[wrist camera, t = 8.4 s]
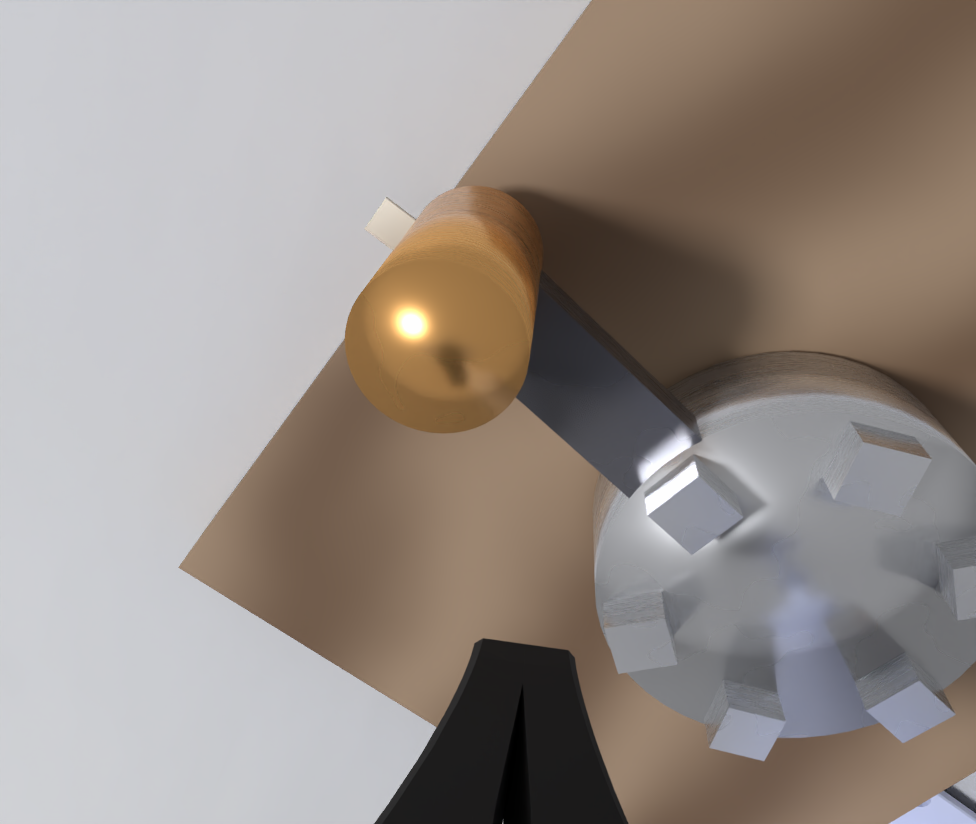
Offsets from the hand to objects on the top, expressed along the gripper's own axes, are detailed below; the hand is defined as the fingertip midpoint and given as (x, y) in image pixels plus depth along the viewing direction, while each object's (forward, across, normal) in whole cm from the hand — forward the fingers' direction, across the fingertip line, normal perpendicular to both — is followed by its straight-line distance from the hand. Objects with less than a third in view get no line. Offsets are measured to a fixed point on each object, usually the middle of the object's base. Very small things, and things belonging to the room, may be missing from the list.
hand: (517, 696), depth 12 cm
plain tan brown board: (+9, -5, +1) cm, 11 cm away
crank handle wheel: (+8, -3, -1) cm, 8 cm away
